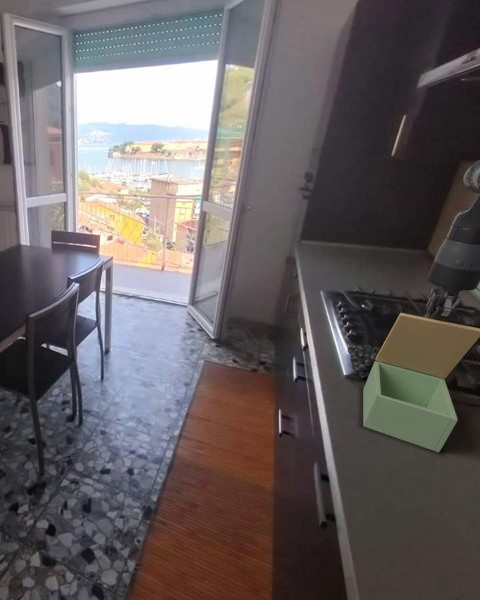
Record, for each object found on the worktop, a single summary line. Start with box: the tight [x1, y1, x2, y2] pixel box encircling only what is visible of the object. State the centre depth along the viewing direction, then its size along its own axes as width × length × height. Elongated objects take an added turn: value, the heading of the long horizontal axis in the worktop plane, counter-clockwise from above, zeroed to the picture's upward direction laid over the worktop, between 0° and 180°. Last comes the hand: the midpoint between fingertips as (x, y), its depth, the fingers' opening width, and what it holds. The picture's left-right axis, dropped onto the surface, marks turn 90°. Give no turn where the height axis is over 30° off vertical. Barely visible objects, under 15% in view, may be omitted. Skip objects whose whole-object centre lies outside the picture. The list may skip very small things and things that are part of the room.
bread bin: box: [362, 361, 459, 453], centre depth 80 cm, size 16×13×9 cm
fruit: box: [347, 344, 394, 380], centre depth 97 cm, size 9×8×15 cm
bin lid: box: [375, 312, 480, 379], centre depth 78 cm, size 16×13×1 cm
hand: (425, 336), depth 78 cm, fingers closed
